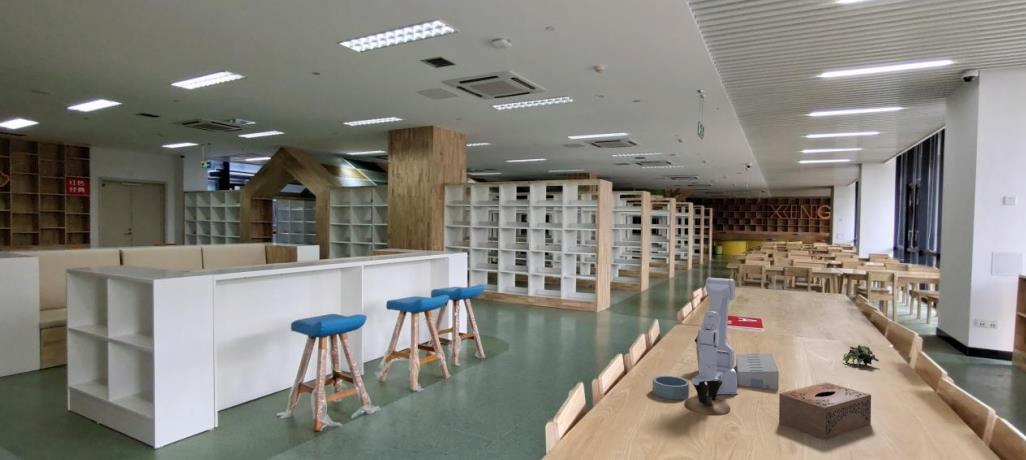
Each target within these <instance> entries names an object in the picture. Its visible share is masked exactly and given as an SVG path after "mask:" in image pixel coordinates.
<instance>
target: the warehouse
mask: <svg viewBox="0 0 1026 460" xmlns="http://www.w3.org/2000/svg"><path fill="white" fill-rule="evenodd" d="M735 358H736V359H735V360H736V362H735V363H736V364H735V365H736V374H737V386H744V387H751V388H752V387H754V388H762V389H770V390H777V391H778V390H779V377H780V376H779V368H778V366H777V363H776V361H775V359H774V356H773V353H771V352H770V353H740V354H739V353H737V354H736V357H735Z"/></svg>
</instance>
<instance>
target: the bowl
mask: <svg viewBox="0 0 1026 460" xmlns="http://www.w3.org/2000/svg"><path fill="white" fill-rule="evenodd" d="M652 393H653V395H655V396H657V397H658V396H659V398H662V399H665V400H675V401H676V400H679V401H680V400H687V399H688V398H690V397H689V396H690V381H688V379H685V378H683V377H679V376H672V375H659V376H654V378H653V379H652Z"/></svg>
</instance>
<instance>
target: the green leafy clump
mask: <svg viewBox="0 0 1026 460" xmlns="http://www.w3.org/2000/svg"><path fill="white" fill-rule="evenodd" d="M848 350H849V351H848V353H844V355H843V358H842V361H844V362H845V363H846V362H847V363H848V362H849V361H850V360H851V362H852V364H855V361H856V363H857V365H856V366H855V367H856V368H857V367H858V366H859V365H860V364H861V363H862V362H863V365H866V366H867V365H872V361H875V362H879V361H880V359H878V358H876V355H875V354H873V353H874V351H872V350H871V348H870V347H869V346H866V345H860V344H859V345H858V346H855V347H854V346H851V345H850V346H849V349H848Z"/></svg>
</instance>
